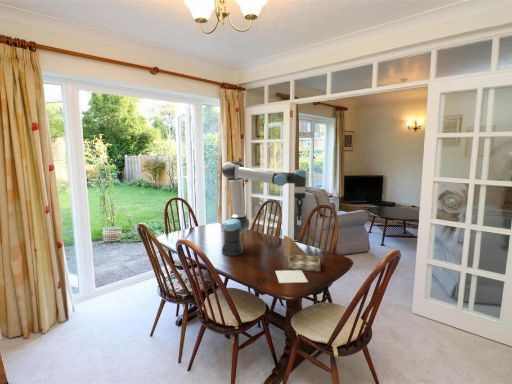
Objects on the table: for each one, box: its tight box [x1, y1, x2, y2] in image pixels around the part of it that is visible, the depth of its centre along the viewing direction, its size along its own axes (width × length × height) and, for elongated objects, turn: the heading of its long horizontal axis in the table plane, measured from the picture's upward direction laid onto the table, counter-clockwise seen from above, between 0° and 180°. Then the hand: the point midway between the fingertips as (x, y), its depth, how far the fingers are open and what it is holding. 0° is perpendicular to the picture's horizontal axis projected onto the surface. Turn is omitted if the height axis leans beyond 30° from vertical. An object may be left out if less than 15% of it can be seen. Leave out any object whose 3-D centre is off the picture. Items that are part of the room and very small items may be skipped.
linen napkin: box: [274, 269, 309, 284], centre depth 170 cm, size 16×16×1 cm
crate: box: [286, 254, 321, 272], centre depth 186 cm, size 20×15×5 cm
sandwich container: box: [283, 235, 309, 259], centre depth 203 cm, size 9×15×15 cm, turn 118°
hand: (299, 222), depth 205 cm, fingers open, 13 cm apart
